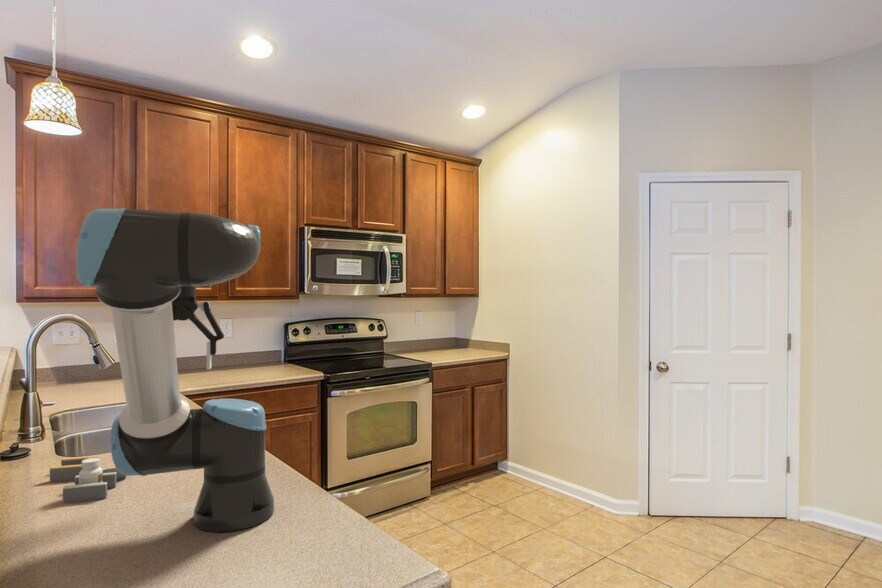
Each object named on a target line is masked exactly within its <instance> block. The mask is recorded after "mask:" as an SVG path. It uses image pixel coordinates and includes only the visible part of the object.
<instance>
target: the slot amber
mask: <svg viewBox="0 0 882 588" xmlns="http://www.w3.org/2000/svg"><path fill="white" fill-rule="evenodd" d="M89 458H100V455H90V456H78V457H64V458H61V460H60V463H61V464H60V466H57V465H56V466H51V467H50V468H49V482H50V483H53V482H64V481H75V477H76V476H78V475H79V472H80V471H81V470H83V469H82V467H81V464H82V461H83V460H85V459H89Z"/></svg>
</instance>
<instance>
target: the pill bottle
mask: <svg viewBox="0 0 882 588" xmlns="http://www.w3.org/2000/svg"><path fill="white" fill-rule="evenodd" d="M81 467H82V469H83V470H81V471H80V472H79V485H80V484H91V483H102V482H103V470H104V469H103V468H102V467H101V458H100V457H99V458H89V459H85V460H83V461H82V464H81Z"/></svg>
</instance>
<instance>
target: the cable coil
mask: <svg viewBox="0 0 882 588" xmlns="http://www.w3.org/2000/svg"><path fill="white" fill-rule="evenodd" d="M102 470H103V473H112V472H116V484H117V483H119V482H122V481H124V480H126V478H127V476H126V475H123V474H121V473H120V472H119V471H118V470H117V468H116V467H113V468H107V469H102Z"/></svg>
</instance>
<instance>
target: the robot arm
mask: <svg viewBox="0 0 882 588" xmlns="http://www.w3.org/2000/svg"><path fill="white" fill-rule="evenodd" d="M77 242H78V243H77V248H76V264H75V267H76V268H75V269H76V277H77V280H78V281H79V284H80V285H82V286H86V287H88V288H92V287H95V289H96V295H97V299H98V301H100V303H102V304H103V305H104V306H106V307H109V308H110V309H111V310H110V311H111V317H112V322H113V328H114V334H115V342H116V348H117V353H118V360H119V365H120V372H121V378H122V383H123V391H124V397H125V406H124V408H122V410H121V411H120V414H119V415H118V416H116V417H115V419H114V420H113V422H112V426H111V430H110V441H109V442H110V445H111V450H110V455H111V458H112V462H113V464H114V466H115V467H114V468H117V470H118V471H119V472H120V473H121V474H123V475H126V477H127V476H129V477H130V476H131V477H132V476H142V477H144V476H145V477H146V476H149V475H156V474H157V475H158V474H165V473H166V474H167V473H172V472H173V473H174V472H182V471H183V472H185V471H193V470H199V469H202V470H203V483H202V486H201V489H200V492H199V494H198V498H197V501H196V504H195V507H194V508H193V509H194V510H193V524H194V526H195V527H196V528H198V529H199V530H202V531H205V532H213V533H227V532H234V531H235V532H236V531H240V530H244V529H248V528H251V527H254V526H257V525H259V524H261V523H264V522H266V521H267V520H269V518H271V517H272V516H273V514H274V512H275V499H274V496H273V492H272V490H271V486H270V484H269V481H268V477H267V476H266V430H267V425H266V413H265V409H264V407H263V406H262V405H261V404H259V403H258V402H255V401H252V400H247V399H242V398H241V399H240V398H225V397H224V398H218V399H217V398H216V399H215V398H212V399H209V400H206V401H205V402H204V404H203V405H202V408H191V407H190V405H189V402H188V401H187V399H186V398H184V396H181V395H180V393H181V392H180V384H179V382H180V381H179V373H178V372H179V370H178V361H177V360H178V359H177V349H176V338H175V337H176V336H175V335H176V334H175V324H174V321H188V320H190V321H191V323H193V325H194V326H196V328H197V329H199V331H200V332H201V333H202V334H203V335H204V337H206V338H207V340H208V341H207V342H206V370H211V369H212V356H215V355H216V353H217V342H218V341H221V340H222V339H224V338H225V335H224V332H223V330H222V328H221V327H220V324H219V323H218V321H217V319H216V317H215V316H214V313H213V311H212V310H211V303H210V302H209V301H204V302H200V303H199V302H197V291H196V290H197V287H206V286H213V285H217V284H218V285H219V284H222V283H225V282H229V281H230V280H234V279H236V278H239V277H240V276H243V275H244V274H246V273H247V272H248V271H250V270H251V269H252V268H253V267H254V266H255V265H256V263H257V261H258V259H259V255H260V253H261V228H260V227H259V226H258V225H255V224H248V223H243V222H239V221H237V220H232V219H229V218H226V217H221V216H219V215H214V214H210V213H204V212H184V211H183V212H182V211H165V210H147V209H131V208H126V207H121V208H97V209H93V210H92V211H90V212H89V213H88V214H87V216H86V217H85V218H84V221H83V223H82V225H81V229H80V232H79V237H78V241H77ZM197 309H200V310H201V312H204V315H205V317H206V318H207V320H208V322H209V324H210V326H211V328H212V329H213V331H214V333H215V335H214V333H213V332H212V331H211V330H210V329H208V327H207V326H206V324H204V322H202V320H201V319H199V317H198V316H197V315H196V311H197Z"/></svg>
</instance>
